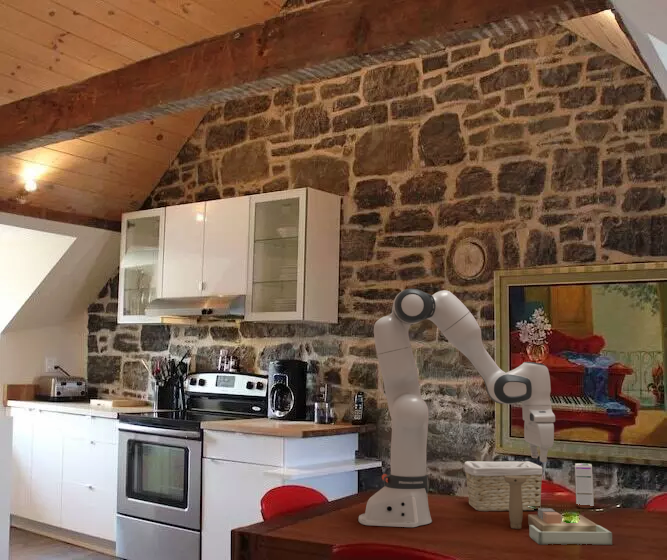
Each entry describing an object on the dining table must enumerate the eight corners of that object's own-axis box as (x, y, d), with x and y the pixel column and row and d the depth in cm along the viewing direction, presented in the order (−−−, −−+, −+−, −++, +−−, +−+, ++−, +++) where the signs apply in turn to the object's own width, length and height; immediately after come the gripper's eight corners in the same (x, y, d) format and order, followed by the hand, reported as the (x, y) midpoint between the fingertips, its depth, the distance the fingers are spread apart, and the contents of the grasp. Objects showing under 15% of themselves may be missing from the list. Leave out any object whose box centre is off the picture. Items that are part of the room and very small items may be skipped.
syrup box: (594, 509, 267) (593, 465, 268) (575, 508, 269) (574, 464, 270) (593, 506, 272) (592, 463, 274) (575, 505, 274) (574, 462, 276)
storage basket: (473, 512, 261) (472, 466, 263) (463, 503, 277) (462, 460, 279) (545, 512, 262) (544, 466, 264) (531, 503, 278) (530, 460, 280)
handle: (527, 530, 233) (526, 478, 235) (504, 529, 235) (504, 477, 236) (527, 527, 238) (526, 475, 239) (505, 525, 239) (504, 475, 241)
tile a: (547, 523, 229) (546, 514, 229) (543, 520, 233) (542, 511, 233) (560, 523, 229) (560, 514, 229) (556, 520, 233) (556, 511, 233)
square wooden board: (543, 536, 225) (543, 525, 226) (528, 524, 241) (528, 514, 242) (599, 536, 226) (599, 525, 226) (580, 524, 242) (580, 514, 242)
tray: (539, 544, 215) (538, 532, 216) (529, 536, 225) (529, 524, 225) (612, 544, 216) (611, 532, 216) (599, 536, 225) (599, 525, 226)
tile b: (541, 519, 234) (541, 510, 234) (537, 516, 238) (537, 508, 238) (555, 519, 234) (555, 510, 234) (551, 516, 238) (551, 508, 238)
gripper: (518, 412, 256) (520, 456, 255) (535, 416, 236) (537, 464, 235) (537, 412, 257) (539, 455, 255) (557, 416, 236) (559, 463, 235)
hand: (539, 459), depth 245 cm, fingers open, 8 cm apart
